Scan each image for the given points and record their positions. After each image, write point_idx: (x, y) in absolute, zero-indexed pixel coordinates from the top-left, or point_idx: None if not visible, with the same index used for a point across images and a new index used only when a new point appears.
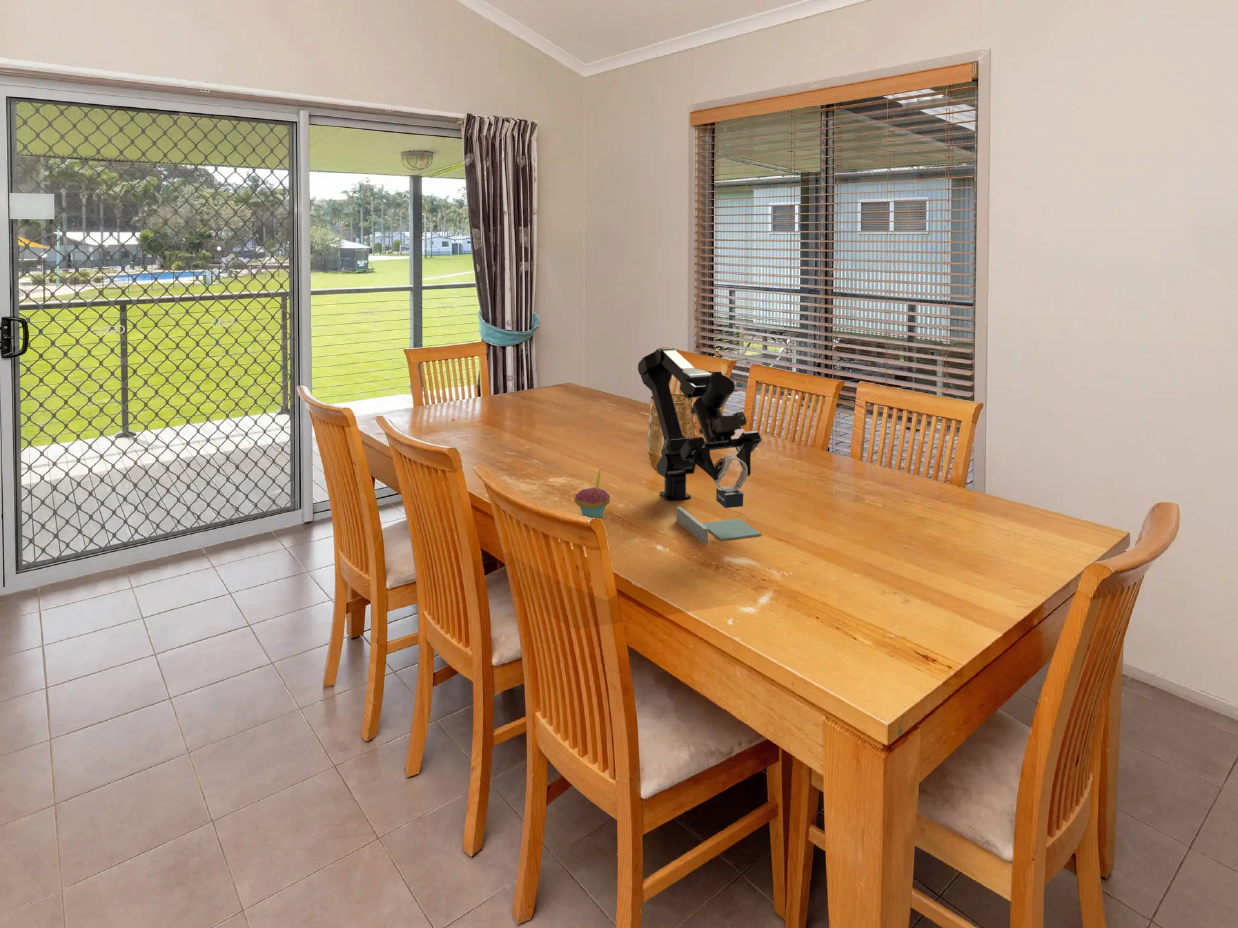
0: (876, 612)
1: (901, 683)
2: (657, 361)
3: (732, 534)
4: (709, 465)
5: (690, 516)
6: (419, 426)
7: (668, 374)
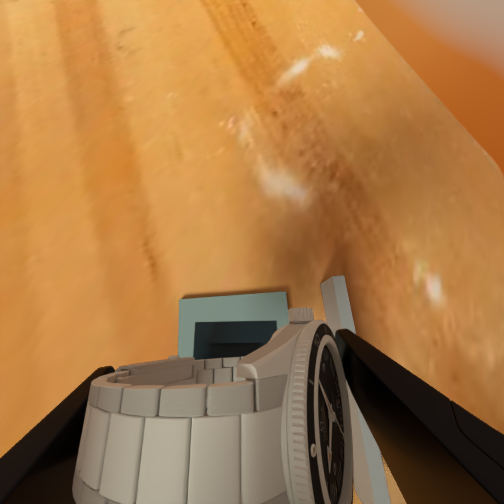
0: (179, 19)
1: None
2: None
3: (249, 313)
4: (446, 398)
5: None
6: None
7: None
